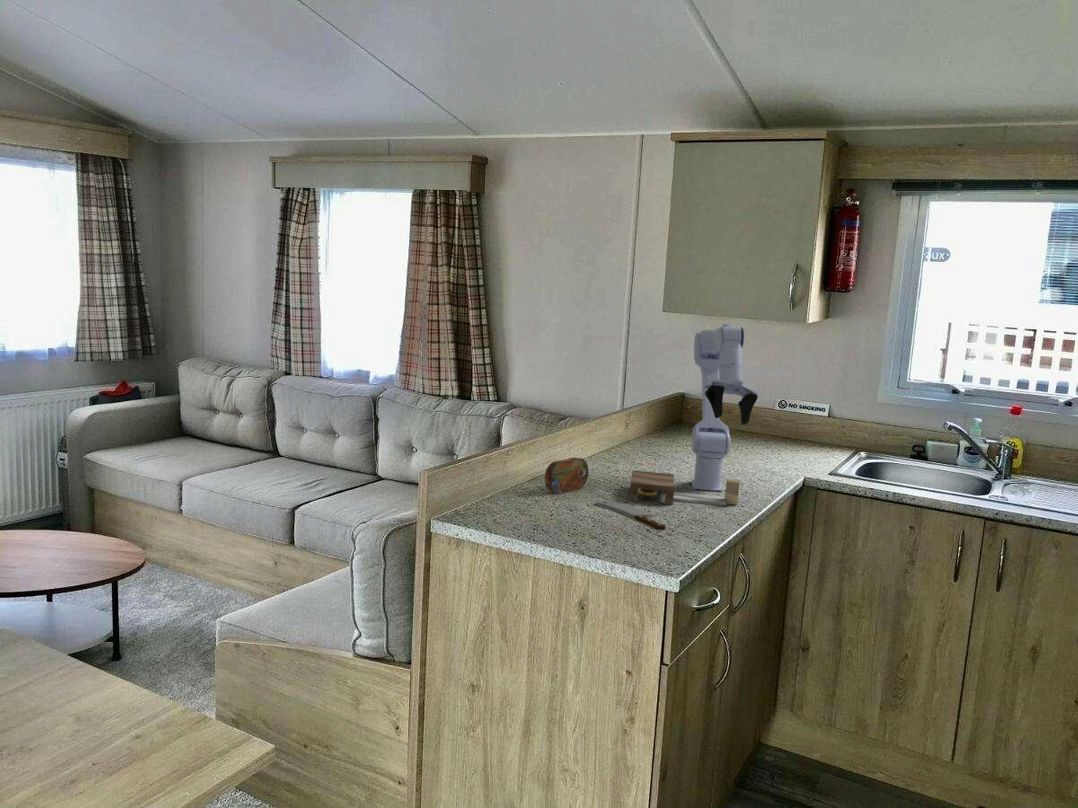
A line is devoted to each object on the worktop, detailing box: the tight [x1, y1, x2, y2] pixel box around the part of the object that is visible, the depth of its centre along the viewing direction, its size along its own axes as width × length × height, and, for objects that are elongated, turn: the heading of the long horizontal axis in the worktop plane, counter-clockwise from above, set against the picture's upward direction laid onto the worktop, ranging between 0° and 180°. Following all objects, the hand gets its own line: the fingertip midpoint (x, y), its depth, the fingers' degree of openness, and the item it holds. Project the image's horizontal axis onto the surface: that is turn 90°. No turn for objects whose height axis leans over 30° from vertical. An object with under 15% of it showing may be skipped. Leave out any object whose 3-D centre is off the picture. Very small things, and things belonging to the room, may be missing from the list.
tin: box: [544, 457, 589, 495], centre depth 234 cm, size 15×3×8 cm, turn 137°
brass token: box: [638, 488, 658, 499], centre depth 234 cm, size 5×5×2 cm
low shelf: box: [628, 470, 675, 506], centre depth 233 cm, size 14×11×5 cm
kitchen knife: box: [595, 500, 666, 531], centre depth 216 cm, size 24×1×10 cm
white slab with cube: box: [673, 478, 740, 506], centre depth 232 cm, size 6×16×6 cm, turn 82°
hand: (731, 419), depth 217 cm, fingers open, 7 cm apart
